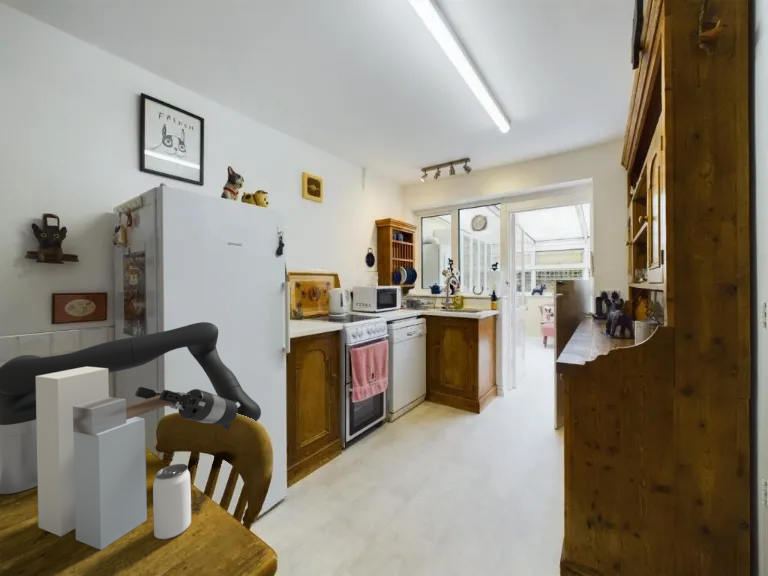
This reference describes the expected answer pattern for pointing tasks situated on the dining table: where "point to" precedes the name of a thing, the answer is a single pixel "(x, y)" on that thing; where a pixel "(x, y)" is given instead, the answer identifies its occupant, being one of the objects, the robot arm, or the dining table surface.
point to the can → (171, 501)
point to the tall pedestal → (61, 441)
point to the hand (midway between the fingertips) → (149, 392)
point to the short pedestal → (110, 483)
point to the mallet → (110, 413)
